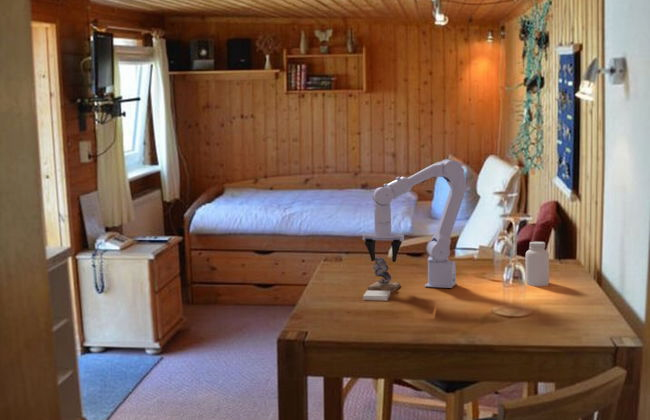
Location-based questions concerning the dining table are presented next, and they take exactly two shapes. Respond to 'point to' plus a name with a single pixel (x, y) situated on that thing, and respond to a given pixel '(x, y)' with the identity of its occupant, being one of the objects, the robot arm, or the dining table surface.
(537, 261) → the pill bottle
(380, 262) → the seashell
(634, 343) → the dining table surface
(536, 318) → the dining table surface
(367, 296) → the ceramic tile
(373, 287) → the walnut base
